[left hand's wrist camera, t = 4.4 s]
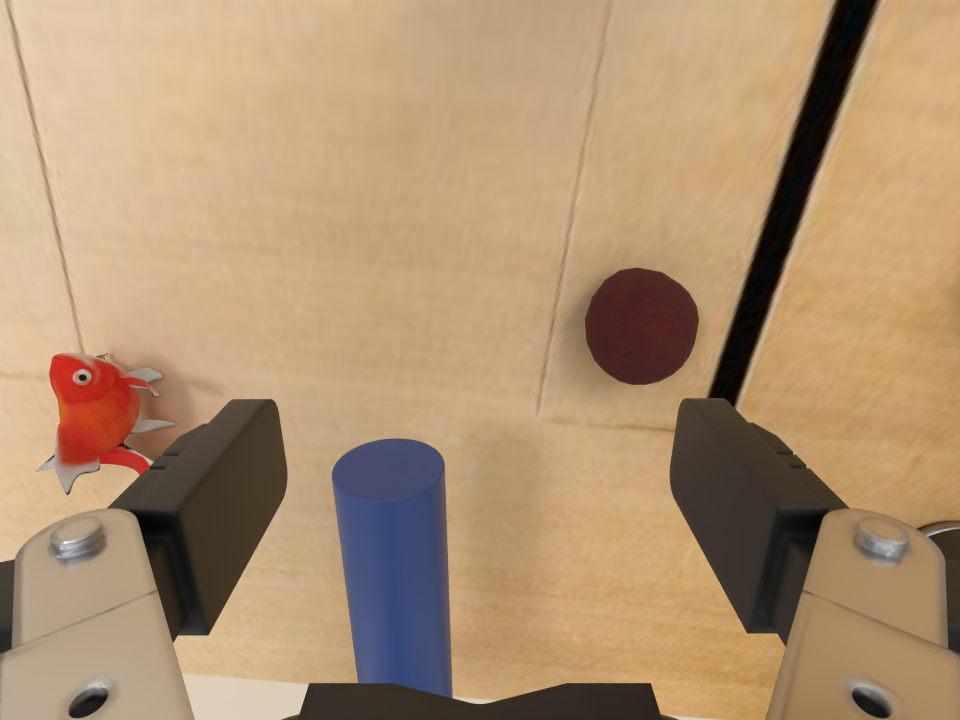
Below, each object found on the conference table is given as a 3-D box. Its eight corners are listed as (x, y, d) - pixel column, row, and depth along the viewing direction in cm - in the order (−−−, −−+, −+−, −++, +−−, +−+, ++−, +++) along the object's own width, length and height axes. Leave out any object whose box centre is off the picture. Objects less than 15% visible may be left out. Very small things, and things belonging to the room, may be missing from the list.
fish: (212, 357, 37) (81, 472, 30) (255, 475, 48) (166, 577, 42) (91, 299, 39) (-56, 395, 33) (159, 425, 51) (61, 515, 44)
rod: (346, 437, 31) (317, 500, 26) (448, 438, 31) (439, 501, 26) (380, 735, 41) (363, 824, 36) (457, 736, 41) (452, 826, 35)
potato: (595, 372, 42) (615, 416, 35) (562, 279, 39) (577, 309, 33) (691, 338, 41) (729, 378, 34) (664, 240, 38) (700, 263, 32)
